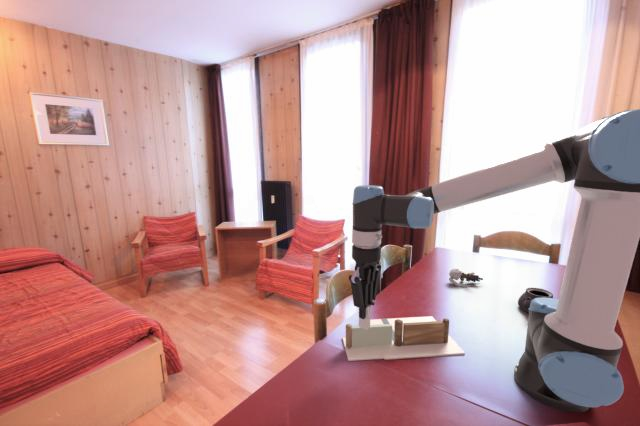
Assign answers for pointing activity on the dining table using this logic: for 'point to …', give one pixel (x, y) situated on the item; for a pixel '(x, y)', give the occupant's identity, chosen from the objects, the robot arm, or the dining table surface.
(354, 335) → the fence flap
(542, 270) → the dining table surface
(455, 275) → the toy
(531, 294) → the teapot
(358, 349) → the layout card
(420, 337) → the fence fixed
